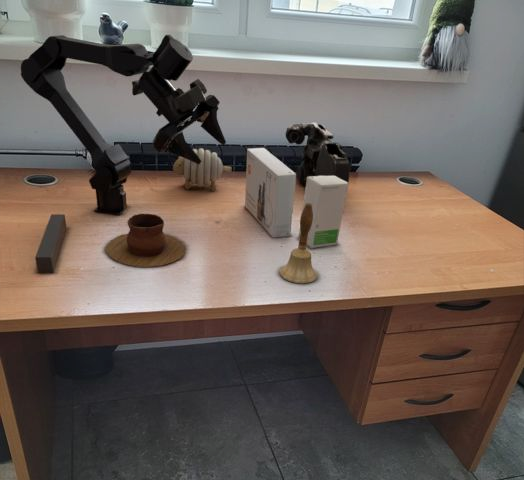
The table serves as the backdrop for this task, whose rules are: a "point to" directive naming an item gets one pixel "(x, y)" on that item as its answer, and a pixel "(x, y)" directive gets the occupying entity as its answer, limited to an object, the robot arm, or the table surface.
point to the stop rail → (51, 244)
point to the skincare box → (270, 191)
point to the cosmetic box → (325, 209)
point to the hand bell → (301, 254)
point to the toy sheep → (201, 169)
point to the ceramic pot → (145, 243)
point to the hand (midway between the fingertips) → (212, 153)
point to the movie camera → (318, 152)
